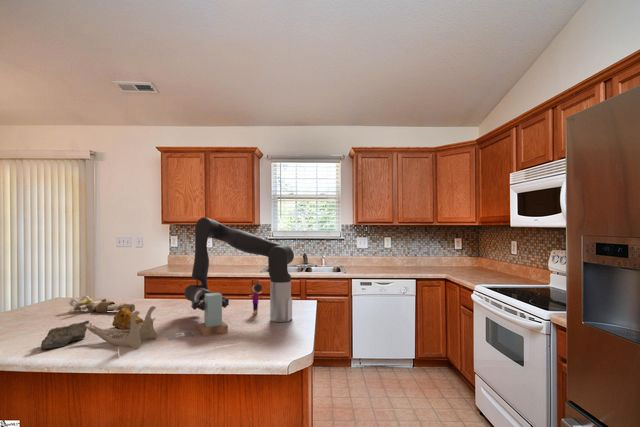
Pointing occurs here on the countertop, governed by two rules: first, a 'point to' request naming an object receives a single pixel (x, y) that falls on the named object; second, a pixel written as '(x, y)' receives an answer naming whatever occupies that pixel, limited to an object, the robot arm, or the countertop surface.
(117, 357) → the countertop surface
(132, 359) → the countertop surface
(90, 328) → the jawbone
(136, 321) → the rock
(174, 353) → the countertop surface
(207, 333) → the stand
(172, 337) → the gray tile
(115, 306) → the figurine
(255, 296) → the toy
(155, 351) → the countertop surface
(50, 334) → the rock
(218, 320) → the block
